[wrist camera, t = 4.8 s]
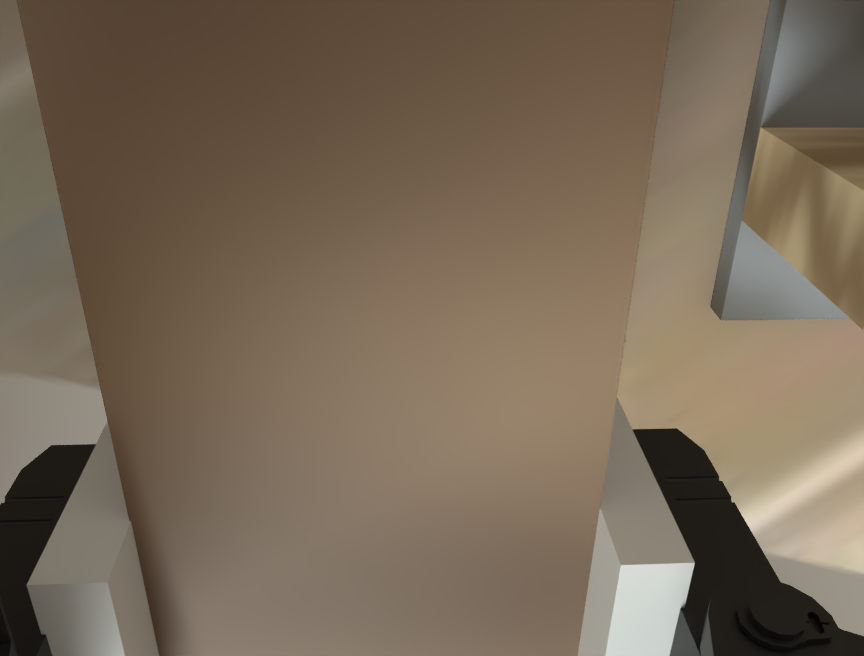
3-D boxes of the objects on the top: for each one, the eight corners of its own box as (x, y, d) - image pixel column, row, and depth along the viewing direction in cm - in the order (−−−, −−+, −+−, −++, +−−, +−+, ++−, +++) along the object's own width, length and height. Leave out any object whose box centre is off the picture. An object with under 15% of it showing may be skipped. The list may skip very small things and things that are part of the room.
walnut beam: (162, -358, 11) (-133, -688, 4) (544, -345, 11) (767, -639, 5) (280, 679, 20) (239, 1028, 14) (481, 670, 20) (527, 1009, 14)
